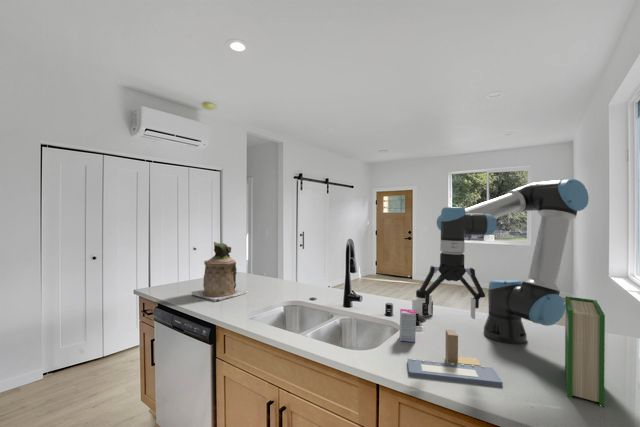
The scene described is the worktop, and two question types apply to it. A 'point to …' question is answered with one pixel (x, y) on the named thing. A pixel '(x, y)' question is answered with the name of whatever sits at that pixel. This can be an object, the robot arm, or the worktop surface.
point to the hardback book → (584, 349)
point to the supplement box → (407, 325)
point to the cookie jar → (220, 276)
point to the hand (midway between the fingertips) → (451, 316)
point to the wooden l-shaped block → (456, 350)
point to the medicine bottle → (420, 304)
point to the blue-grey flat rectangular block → (454, 372)
